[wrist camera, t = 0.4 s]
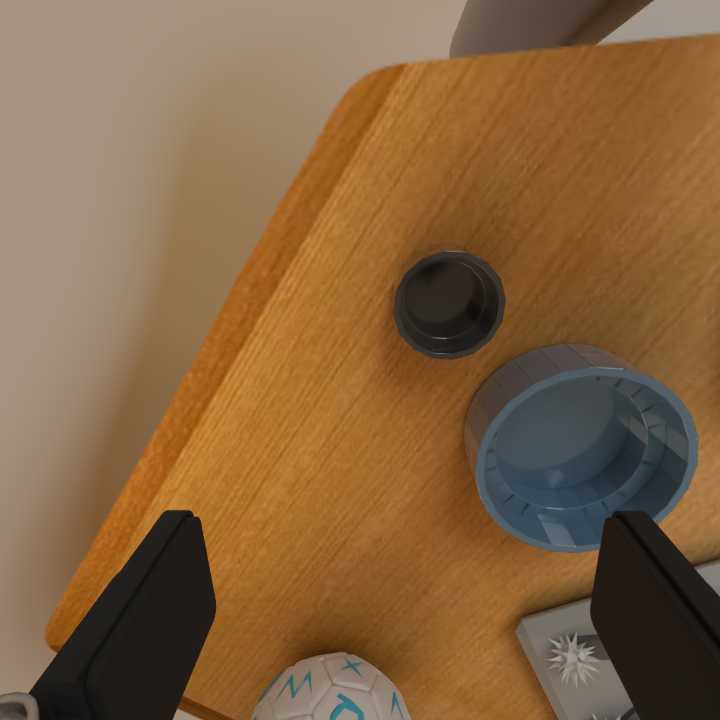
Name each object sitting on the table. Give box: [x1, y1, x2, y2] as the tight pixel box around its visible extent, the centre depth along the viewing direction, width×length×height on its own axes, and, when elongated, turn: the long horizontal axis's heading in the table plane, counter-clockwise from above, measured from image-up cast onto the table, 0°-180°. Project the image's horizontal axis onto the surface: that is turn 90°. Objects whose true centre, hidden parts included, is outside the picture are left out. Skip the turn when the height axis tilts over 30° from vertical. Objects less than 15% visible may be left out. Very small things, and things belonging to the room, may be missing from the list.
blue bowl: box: [463, 343, 698, 553], centre depth 32 cm, size 14×14×6 cm
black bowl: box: [392, 245, 506, 360], centre depth 29 cm, size 7×7×4 cm
